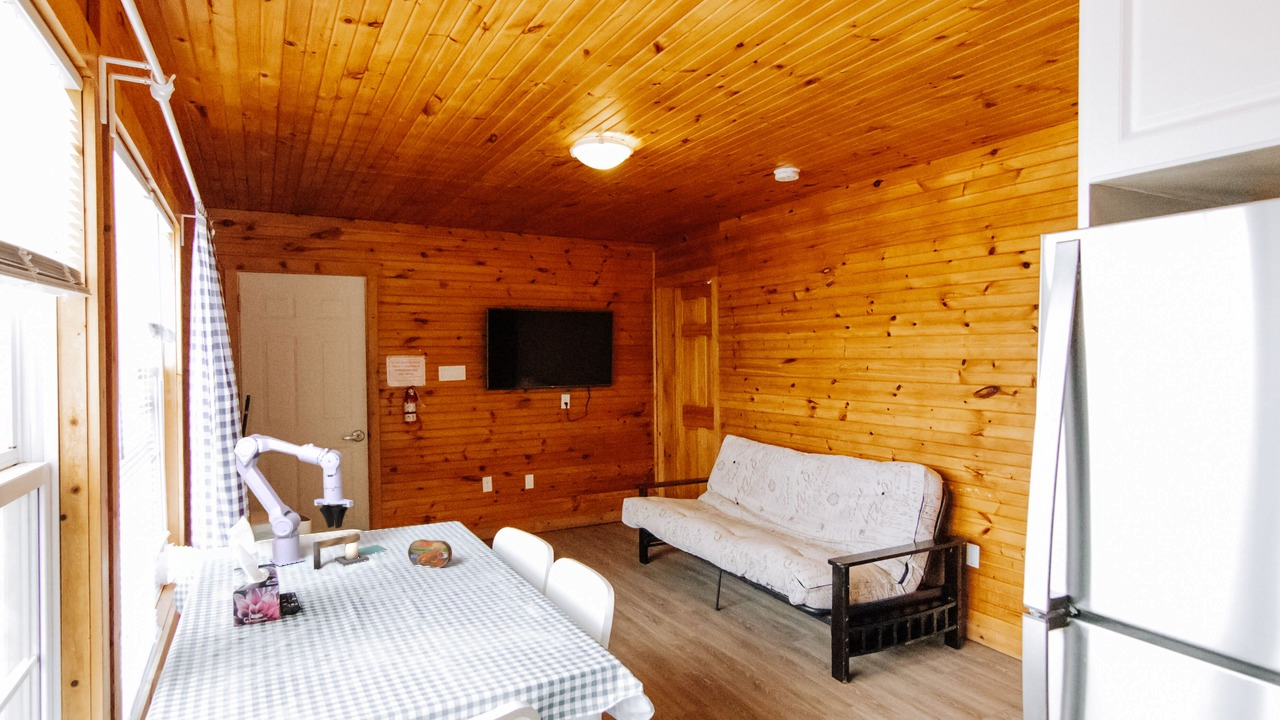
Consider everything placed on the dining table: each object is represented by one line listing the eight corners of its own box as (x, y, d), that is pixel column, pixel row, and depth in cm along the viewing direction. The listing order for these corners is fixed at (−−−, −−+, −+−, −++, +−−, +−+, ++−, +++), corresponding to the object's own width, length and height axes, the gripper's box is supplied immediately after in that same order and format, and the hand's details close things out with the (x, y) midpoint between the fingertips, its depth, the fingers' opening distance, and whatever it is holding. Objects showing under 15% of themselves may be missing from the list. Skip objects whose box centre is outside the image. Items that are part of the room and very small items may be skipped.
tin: (407, 565, 219) (407, 539, 218) (413, 562, 222) (413, 537, 221) (448, 569, 214) (447, 542, 214) (454, 566, 217) (453, 540, 217)
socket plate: (334, 560, 225) (334, 557, 225) (358, 555, 230) (358, 552, 230) (344, 565, 219) (344, 562, 219) (368, 560, 225) (368, 557, 225)
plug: (343, 560, 225) (342, 542, 225) (355, 557, 228) (354, 540, 227) (348, 563, 222) (347, 545, 222) (360, 560, 225) (359, 542, 225)
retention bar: (315, 570, 215) (314, 543, 215) (312, 568, 217) (312, 542, 217) (360, 559, 226) (360, 534, 226) (358, 558, 227) (357, 533, 227)
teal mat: (354, 551, 235) (354, 549, 235) (376, 546, 241) (376, 544, 241) (364, 555, 230) (364, 554, 230) (387, 550, 235) (387, 549, 235)
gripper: (306, 488, 226) (308, 529, 226) (341, 490, 221) (343, 531, 221) (322, 484, 232) (324, 523, 233) (357, 485, 228) (358, 526, 228)
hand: (334, 527), depth 227 cm, fingers open, 3 cm apart
